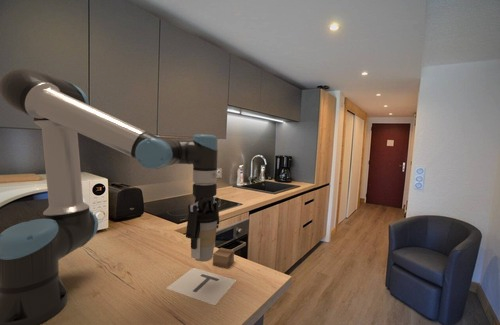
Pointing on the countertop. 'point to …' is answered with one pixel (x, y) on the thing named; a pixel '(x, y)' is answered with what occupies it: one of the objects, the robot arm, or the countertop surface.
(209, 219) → the coffee cup
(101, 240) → the countertop surface
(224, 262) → the walnut block
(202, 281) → the letter sheet
